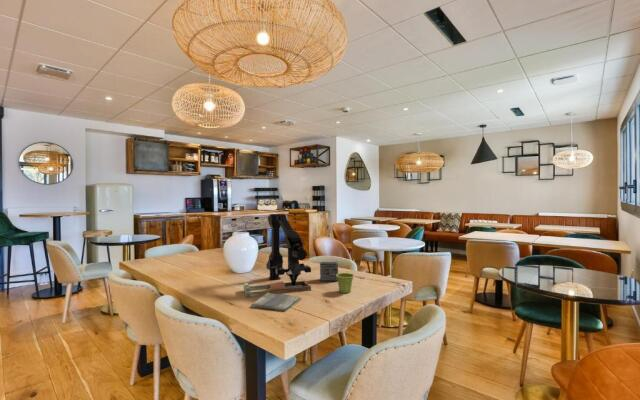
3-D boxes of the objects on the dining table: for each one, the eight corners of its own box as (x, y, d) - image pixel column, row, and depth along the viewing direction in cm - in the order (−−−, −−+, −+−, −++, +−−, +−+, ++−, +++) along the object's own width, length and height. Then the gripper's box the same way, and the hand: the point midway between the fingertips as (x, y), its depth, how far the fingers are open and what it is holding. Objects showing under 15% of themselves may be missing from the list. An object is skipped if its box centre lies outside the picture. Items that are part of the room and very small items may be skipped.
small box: (338, 279, 192) (338, 261, 192) (338, 281, 185) (337, 264, 185) (321, 278, 193) (320, 261, 193) (320, 281, 186) (319, 263, 186)
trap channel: (243, 290, 170) (243, 283, 170) (304, 284, 181) (304, 277, 181) (246, 297, 159) (246, 289, 159) (311, 290, 170) (310, 282, 170)
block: (270, 289, 172) (270, 282, 172) (283, 288, 174) (283, 281, 174) (271, 293, 166) (271, 285, 166) (284, 292, 167) (284, 284, 167)
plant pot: (356, 290, 169) (356, 273, 168) (350, 295, 160) (350, 278, 160) (340, 288, 172) (339, 272, 172) (333, 293, 164) (333, 276, 164)
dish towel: (285, 313, 138) (285, 306, 138) (250, 308, 144) (249, 301, 144) (302, 300, 155) (302, 293, 155) (270, 296, 162) (270, 290, 161)
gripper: (279, 261, 162) (279, 291, 162) (313, 258, 168) (314, 288, 168) (275, 257, 172) (275, 286, 173) (308, 255, 178) (308, 282, 179)
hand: (293, 285), depth 173 cm, fingers closed
